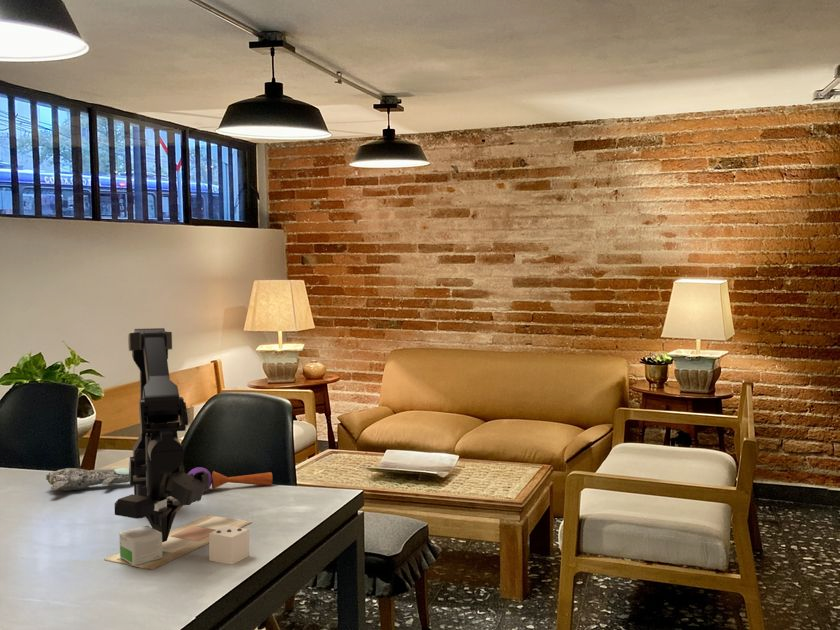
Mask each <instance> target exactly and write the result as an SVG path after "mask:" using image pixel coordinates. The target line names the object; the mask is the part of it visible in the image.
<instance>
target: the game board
mask: <svg viewBox="0 0 840 630" xmlns="http://www.w3.org/2000/svg"><path fill="white" fill-rule="evenodd" d="M251 524H252V521H249V520H242V519H238V518H237V519H236V518H230V517H223V516H217V515H210V514H208V515H206V516H203V517H201V518H198V519H196V520H194V521H192V522H189V523H186V524H185V525H182V526H180V527H177V528H175V529H173V530H170V533H169V536H168V539H167V541H165V542H162V557H163V558H161V559H157V560H153V561H149V562H146V563H143V564H139V565H135V566H134V565H132V564H131V563H129V562H127V561H126V560H124V559H122V558H120V552H118V553H116V554H114V555H110V556H108V557H106V558H104V559H103V560H104V561H107V562H111V563H116V564H122V565H127V566H132V567H138V568H141V569H148V570H152V571H153V570H154V569H156V568H159V567H160V566H163V565H165V564H167V563H169V562H172V561H174V560H176V559H178V558H180V557H182V556H184V555H186V554H189V553H191V552H193V551H195V550H197V549H199V548H201V547H204V546H206V545H209V533H211V532H213V531H216V530H218V529H220V528H222V527H225V526H232V527H238V528H244V527H246V526H248V525H251ZM171 560H172V561H171Z"/></svg>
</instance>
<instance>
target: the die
mask: <svg viewBox="0 0 840 630" xmlns="http://www.w3.org/2000/svg"><path fill="white" fill-rule="evenodd" d="M208 546H209V548H208V550H209V551H208V553H209V556H208V557H209V559H208V560H209V561H210V562H211V561H212V562H217V563H221V564H225V565H226V564H227V565H234V564H236V563H238V562H239V561H241V560H243V559H246V558H248V557H249V556H250V529H249V528H244V527H242V528H238V527H232V526H225V527H222V528H220V529H218V530H216V531H213V532H211V533H209V543H208Z"/></svg>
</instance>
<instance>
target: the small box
mask: <svg viewBox="0 0 840 630" xmlns="http://www.w3.org/2000/svg"><path fill="white" fill-rule="evenodd" d="M119 553H120V558H122V559H124V560H126V561H127V562H129V563H131V564H132V565H134V566H133V567H136V566H135V565H139V564H143V563H146V562H149V561H153V560H157V559H161V558H163V557H162V533H161V532H159V531H157V530H155V529H153V528H152V526H149V525H143V526H140V527H136V528H131V529H127V530H124V531H120V532H119Z"/></svg>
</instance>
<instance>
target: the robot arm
mask: <svg viewBox="0 0 840 630" xmlns="http://www.w3.org/2000/svg"><path fill="white" fill-rule="evenodd" d="M133 330H134V332H130V333H128V340H127V341H128V344H127V345H128V351H129V352H131V357H132V360H133V361H134V363H135V365H136V366H137V367H138V368H137V369H138V370H139V400H138V401H139V402H138V413H139V423H140V425H139V426H140V427H139V428H140V429H139V433H140V435H139V437H138V438H137V440H136V441H135V443H134V444H133V446H132V456H129V463H128V464H129V465H128V469H129V481H130V482H129V485H130V486H133V494H129V495H127V496H123V497H121V498H118V499H117V500H116V501H115V502H114V515H115V516H118V517H120V516H121V517H126V518H129V519H130V518H131V519H137V520H138V519H143V518H146V520H147V521H148V523H149V525H150V527H151V528H153V529H155V530H157V531H159V532H161V533H162V542H165V541H167V539H168V536H169V533H170V531H171V529H172V525H173V523H174V520H175V517H176V515H177V513H178V511H180V509H181V508H183V507H184V506H189V505H192V504H193V503H196V502H200V501H201V500H202V499H203V498H202V497H203V495H205V494H207V491H209V489H210V488H209V487H208V484H209V478H208V473H206V472H204V471H200V472H197V473H196V474H195V475H194V476H193V474H188V473H186V472H185V465H184V459H185V451H184V447H183V446H182V443H181V442H180V440H179V437H178V432H183V431H184V432H185V431H186V429H187V428H186V426H188V424H189V417H188V410H187V403H186V401H185V400H184V398H183V396H180V393H179V387H178V385H177V384H176V383H175V382H173V381H172V380H171V378H170V371H169V364H168V358H169V350H173V332H172V331H166V330H165V328H164V327H158V328H155V327H154V328H151V327H150V328H134V329H133ZM134 475H136V477H133V476H134Z"/></svg>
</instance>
